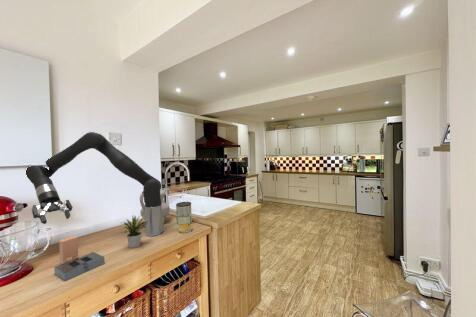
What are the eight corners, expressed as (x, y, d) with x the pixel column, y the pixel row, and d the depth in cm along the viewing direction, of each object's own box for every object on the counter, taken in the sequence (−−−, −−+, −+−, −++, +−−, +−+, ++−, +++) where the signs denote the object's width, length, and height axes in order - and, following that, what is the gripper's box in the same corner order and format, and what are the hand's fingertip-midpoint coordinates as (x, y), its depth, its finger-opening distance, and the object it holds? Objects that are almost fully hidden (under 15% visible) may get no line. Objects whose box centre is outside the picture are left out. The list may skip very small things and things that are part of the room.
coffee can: (174, 223, 139) (173, 203, 139) (188, 219, 146) (187, 200, 146) (180, 226, 131) (179, 205, 131) (194, 223, 138) (193, 203, 138)
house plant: (133, 255, 95) (132, 221, 94) (111, 251, 99) (110, 219, 99) (154, 242, 108) (153, 212, 108) (134, 240, 112) (132, 211, 112)
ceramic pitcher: (156, 230, 129) (158, 192, 128) (130, 227, 132) (132, 190, 132) (174, 220, 150) (175, 187, 149) (151, 217, 154) (152, 185, 153)
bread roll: (185, 227, 130) (184, 221, 130) (194, 230, 125) (194, 223, 125) (174, 231, 123) (174, 225, 123) (184, 234, 119) (184, 227, 119)
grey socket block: (93, 258, 93) (93, 251, 93) (104, 263, 88) (104, 256, 88) (54, 274, 81) (54, 266, 81) (64, 281, 76) (64, 273, 76)
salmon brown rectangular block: (75, 258, 93) (74, 235, 93) (78, 260, 91) (77, 237, 91) (60, 264, 88) (59, 240, 88) (63, 266, 86) (62, 241, 86)
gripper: (29, 192, 94) (38, 219, 88) (67, 188, 106) (77, 211, 100) (26, 202, 96) (35, 229, 91) (63, 197, 109) (73, 220, 103)
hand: (57, 220), depth 96 cm, fingers open, 8 cm apart
